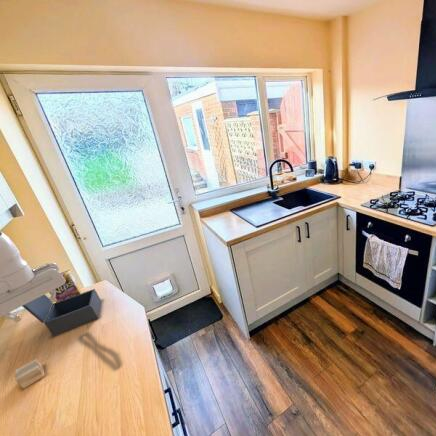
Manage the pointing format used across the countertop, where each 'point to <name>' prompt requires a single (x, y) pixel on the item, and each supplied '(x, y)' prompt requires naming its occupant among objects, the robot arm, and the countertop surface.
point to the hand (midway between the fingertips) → (36, 310)
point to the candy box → (67, 287)
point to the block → (29, 373)
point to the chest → (73, 312)
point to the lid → (39, 307)
